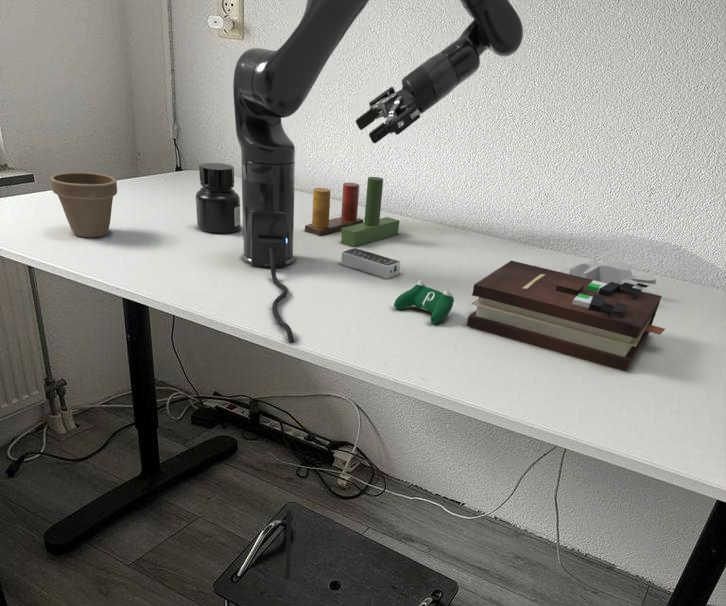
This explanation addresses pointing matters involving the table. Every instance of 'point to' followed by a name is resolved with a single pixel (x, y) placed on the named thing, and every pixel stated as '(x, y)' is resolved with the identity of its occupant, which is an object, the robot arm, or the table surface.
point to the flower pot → (86, 201)
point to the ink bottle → (217, 199)
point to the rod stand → (322, 208)
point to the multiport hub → (370, 263)
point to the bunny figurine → (610, 273)
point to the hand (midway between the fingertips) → (364, 132)
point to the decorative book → (566, 313)
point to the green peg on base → (371, 219)
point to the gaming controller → (426, 301)
